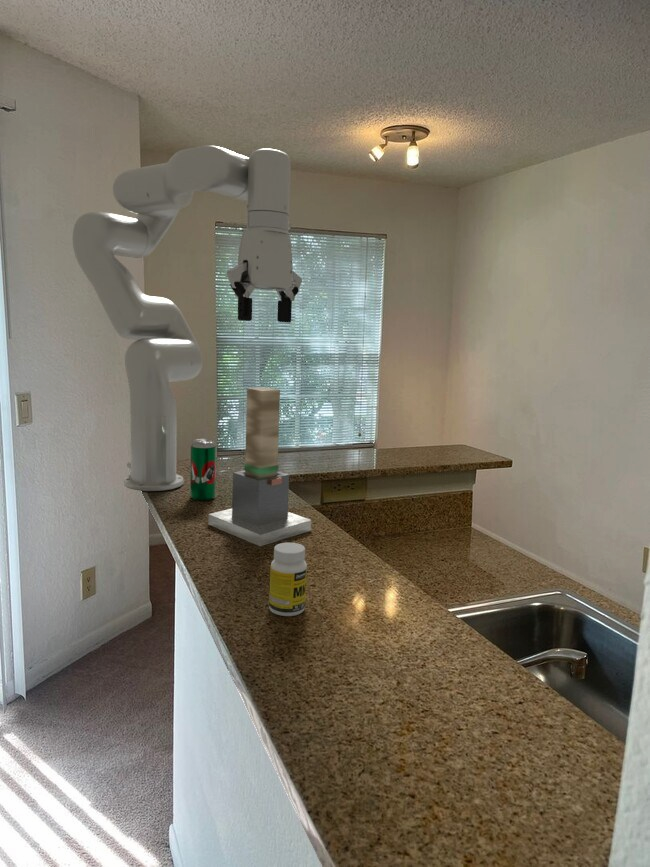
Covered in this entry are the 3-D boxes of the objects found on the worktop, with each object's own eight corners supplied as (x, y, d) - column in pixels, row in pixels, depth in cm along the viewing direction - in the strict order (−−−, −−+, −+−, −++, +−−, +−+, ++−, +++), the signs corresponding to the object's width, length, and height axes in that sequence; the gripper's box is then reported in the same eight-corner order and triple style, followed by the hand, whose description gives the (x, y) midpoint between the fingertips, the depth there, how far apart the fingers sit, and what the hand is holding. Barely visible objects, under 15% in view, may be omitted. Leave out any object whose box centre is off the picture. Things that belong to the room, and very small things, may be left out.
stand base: (208, 524, 112) (209, 470, 110) (259, 511, 121) (260, 461, 119) (260, 546, 103) (261, 487, 101) (310, 530, 111) (313, 476, 109)
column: (244, 478, 110) (246, 388, 107) (262, 475, 113) (264, 387, 110) (259, 483, 107) (262, 391, 104) (277, 479, 110) (280, 389, 107)
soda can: (218, 495, 130) (219, 439, 128) (211, 502, 125) (212, 444, 123) (194, 493, 130) (195, 437, 128) (186, 500, 125) (187, 442, 123)
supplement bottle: (296, 620, 78) (299, 557, 77) (262, 612, 80) (264, 550, 78) (310, 604, 83) (313, 544, 81) (278, 597, 84) (280, 538, 83)
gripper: (288, 232, 121) (285, 321, 124) (216, 219, 108) (214, 319, 112) (316, 230, 116) (312, 323, 119) (244, 216, 103) (241, 320, 107)
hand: (265, 321), depth 115 cm, fingers open, 9 cm apart
